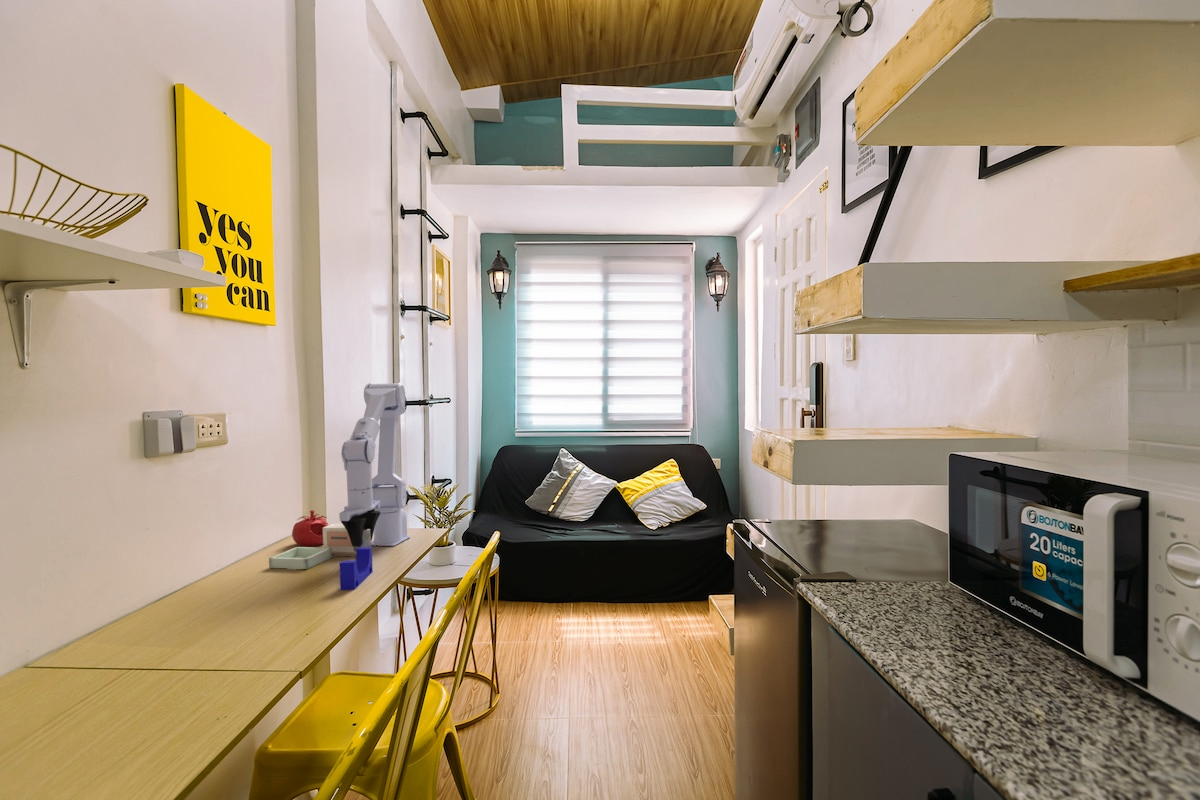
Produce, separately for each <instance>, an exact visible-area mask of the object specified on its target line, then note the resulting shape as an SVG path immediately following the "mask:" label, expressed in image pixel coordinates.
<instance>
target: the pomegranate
mask: <svg viewBox="0 0 1200 800" xmlns="http://www.w3.org/2000/svg"><path fill="white" fill-rule="evenodd" d="M309 513H310V516H306V515H302V516H300V517H299V518H298V519H296V521H298V520H299V522H296V523H295V524H294V525H293V527H292V531H291V536H292V540H293V541H294V542H295V544H297V545H299V547H316V546H317V547H318V546H320V545H323V527H326V526H328V525H329V523H328V522H327V520H326V519H327V518H328V517H327V516H324V515H321V516H320V514H319V513H317V514H316V513H315V510H310V511H309ZM317 516H318V517H317ZM301 519H302V520H301ZM300 520H301V521H300Z"/></svg>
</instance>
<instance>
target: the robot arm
mask: <svg viewBox="0 0 1200 800" xmlns="http://www.w3.org/2000/svg"><path fill="white" fill-rule="evenodd" d="M363 399H364V402H365V405H366V407H365V411H364V415H363V417H361V418H359V419H358V420H357V421H356V423H355V425H354V429H353V431H352V433H351V435H350V438H349V439H347V440H346V441H344V442H343V444H342V447H341V460H342V462H343V469H344V471H346V487H347V489H346V491H347V505H345V506H343V510H342V511H341V512H339V522H341V523H340V524H343V525H344V527H345V528H346V530H347V532H348V535H349V537H350V541H351V544H352V546H355V547H360V546H361V545H362V537H363V528H364V527H369V528H370V533H371V546H376V545H377V546H384V547H386V546H387V547H395V546H397V545H398V544H401V543H402V542H404V541H406V540H407V539H409V538H411V535H409V534H408V520H407V519H408V517H407V513H406V511H405V510H404V507H405V506H406V503H407V498H408V495H407V487H406V486H407V485H406V482H405V480H404V479H403V478H401V477H400V476H398V475H397V472H396V471H397V454H398V453H397V447H398V427H399V417H400V416H401V415H403V414H404V413H405V408H406V391H405V387H404V385H403V383H402V382H397V383H396V382H394V383H391V382H389V383H370V382H369V383H367V384H366V385H365V387H364V389H363ZM378 435H379V436H378ZM377 438H378V453H377V454H378V455H377V457H378V458H377V474H376V475H375V476H374V477H373V471H372V468H373V467H372V466H373V465H372V463H373V461H374V459H375V456H376V455H375V454H376V446H377V444H376V439H377Z"/></svg>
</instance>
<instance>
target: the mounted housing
mask: <svg viewBox="0 0 1200 800" xmlns="http://www.w3.org/2000/svg"><path fill="white" fill-rule="evenodd" d="M322 548H332V557H336V556H354V557H353V558H356V552H355V551H354V548H353V546H352V544H351V541H350V537H349V535H348V532H347V530H346V528H345V527H344V525H343V524H342V523H332V524H328V526H326V527H323V544H322Z"/></svg>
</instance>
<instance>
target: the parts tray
mask: <svg viewBox="0 0 1200 800" xmlns="http://www.w3.org/2000/svg"><path fill="white" fill-rule="evenodd" d="M329 558H330V559H332V558H333V556H332V548H323V547H318V546H317V547H316V546H296V547H293V548H291V549H289V550H285V551H283V552H281V553H279V554H276V555H273V556H271V557H269V558H268V567H269V568H288V569H287V570H296V569H307V570H309V569H311V568H313V566H314V567H315V565H316V566H317V564H318V565H320V564H322V563H324V562H326V561H328V560H330V559H329ZM325 560H326V561H325ZM323 561H324V562H323ZM321 562H322V563H321ZM319 563H320V564H319ZM269 568H268V569H269ZM308 568H309V569H308Z"/></svg>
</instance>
